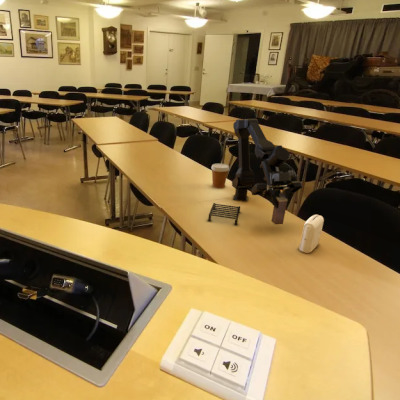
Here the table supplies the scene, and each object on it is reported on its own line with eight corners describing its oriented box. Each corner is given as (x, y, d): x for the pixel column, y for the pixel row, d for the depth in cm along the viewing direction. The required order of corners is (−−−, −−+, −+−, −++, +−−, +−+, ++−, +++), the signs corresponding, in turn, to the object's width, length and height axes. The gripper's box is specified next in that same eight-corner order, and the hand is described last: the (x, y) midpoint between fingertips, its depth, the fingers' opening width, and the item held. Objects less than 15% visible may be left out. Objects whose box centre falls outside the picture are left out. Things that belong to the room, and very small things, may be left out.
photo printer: (309, 254, 113) (316, 223, 108) (296, 250, 116) (303, 219, 111) (319, 244, 119) (327, 214, 115) (307, 240, 122) (314, 210, 118)
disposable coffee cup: (220, 190, 172) (223, 169, 167) (206, 186, 179) (207, 165, 174) (230, 186, 178) (233, 165, 173) (216, 182, 184) (218, 162, 180)
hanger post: (270, 221, 130) (274, 196, 126) (278, 220, 131) (283, 196, 126) (275, 224, 127) (279, 200, 123) (283, 224, 127) (288, 199, 123)
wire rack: (213, 208, 151) (213, 202, 150) (239, 212, 147) (240, 206, 145) (208, 221, 139) (208, 214, 138) (236, 225, 135) (237, 219, 134)
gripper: (258, 164, 122) (268, 201, 117) (304, 161, 124) (316, 198, 118) (246, 177, 133) (255, 212, 127) (289, 174, 134) (300, 209, 128)
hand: (281, 208), depth 125 cm, fingers closed on hanger post, 3 cm apart
